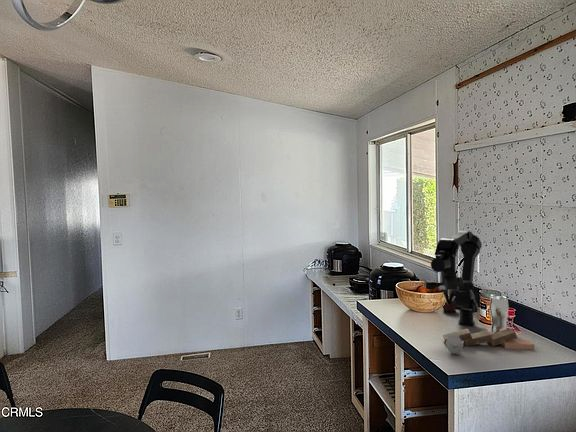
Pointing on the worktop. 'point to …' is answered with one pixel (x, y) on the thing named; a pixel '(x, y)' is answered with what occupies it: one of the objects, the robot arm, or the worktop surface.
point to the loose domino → (518, 344)
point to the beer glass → (498, 313)
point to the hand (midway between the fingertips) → (448, 304)
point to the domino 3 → (502, 337)
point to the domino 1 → (460, 335)
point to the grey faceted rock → (454, 344)
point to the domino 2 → (479, 338)
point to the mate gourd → (449, 307)
